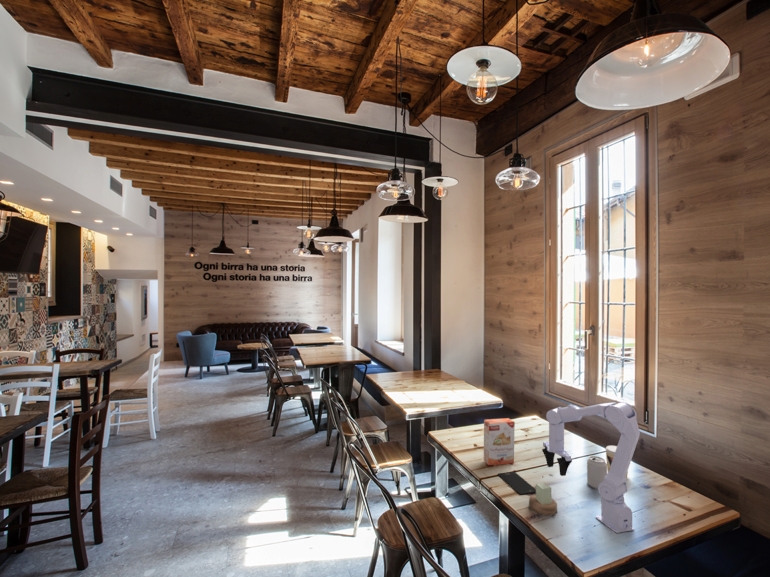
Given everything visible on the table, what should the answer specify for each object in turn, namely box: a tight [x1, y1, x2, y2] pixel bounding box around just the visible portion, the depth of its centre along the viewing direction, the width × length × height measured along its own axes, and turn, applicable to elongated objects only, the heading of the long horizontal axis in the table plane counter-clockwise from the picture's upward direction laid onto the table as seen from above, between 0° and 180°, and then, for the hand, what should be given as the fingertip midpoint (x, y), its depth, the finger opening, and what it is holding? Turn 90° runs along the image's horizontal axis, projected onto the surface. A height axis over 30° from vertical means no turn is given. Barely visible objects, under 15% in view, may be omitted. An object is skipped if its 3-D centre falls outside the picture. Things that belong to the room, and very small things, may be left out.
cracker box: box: [483, 417, 515, 466], centre depth 183 cm, size 14×6×21 cm, turn 102°
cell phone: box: [497, 471, 536, 496], centre depth 163 cm, size 9×18×1 cm, turn 13°
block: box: [535, 482, 552, 505], centre depth 144 cm, size 4×4×6 cm
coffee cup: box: [605, 445, 629, 479], centre depth 171 cm, size 9×9×12 cm
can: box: [586, 455, 608, 490], centre depth 161 cm, size 8×8×12 cm
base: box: [528, 493, 558, 516], centre depth 144 cm, size 10×10×3 cm
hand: (556, 470), depth 153 cm, fingers open, 7 cm apart
